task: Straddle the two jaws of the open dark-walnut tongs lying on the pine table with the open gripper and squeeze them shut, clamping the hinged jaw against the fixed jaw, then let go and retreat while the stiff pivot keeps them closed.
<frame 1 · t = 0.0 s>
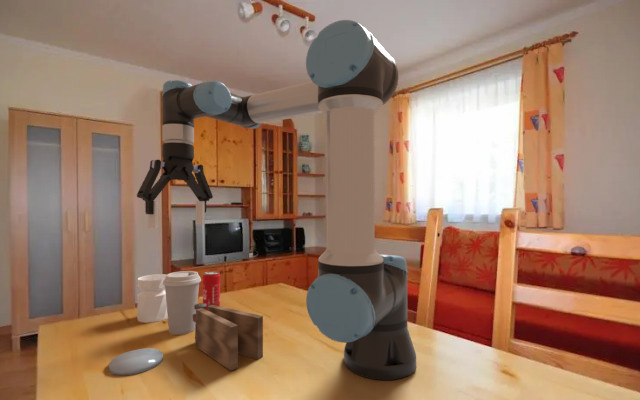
hand: (178, 226, 86), 28 cm above the table, fingers open, 13 cm apart
vase: (153, 318, 100), on the table
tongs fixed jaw: (200, 342, 82), on the table
grey domed disc: (136, 363, 71), on the table
beverage can: (211, 311, 106), on the table
coffee cup: (182, 330, 90), on the table
tongs hinged jaw: (212, 334, 75), point 5 cm above the table, hinge at 14.0°
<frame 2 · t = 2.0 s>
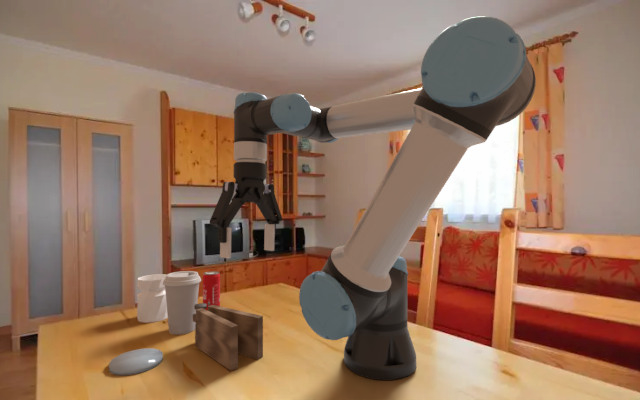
hand: (248, 253, 78), 22 cm above the table, fingers open, 13 cm apart
nothing on the table moved.
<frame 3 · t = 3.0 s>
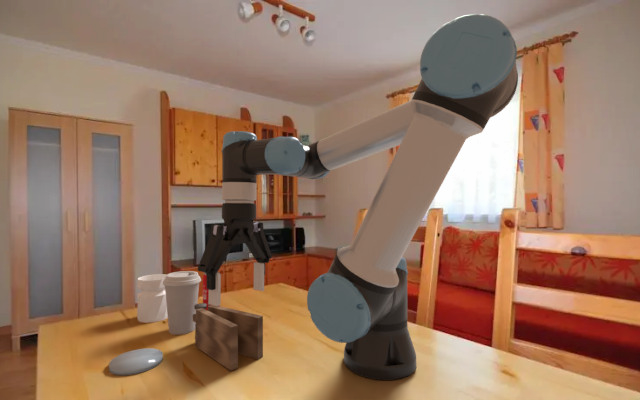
hand: (238, 296, 75), 13 cm above the table, fingers open, 13 cm apart
nothing on the table moved.
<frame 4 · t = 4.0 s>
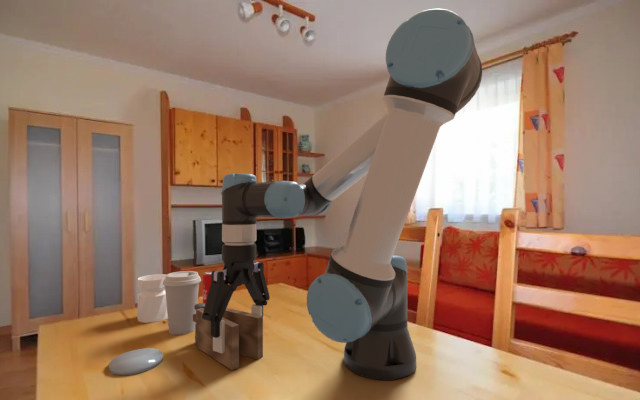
hand: (239, 341, 75), 3 cm above the table, fingers open, 11 cm apart
tongs hinged jaw: (213, 334, 75), point 5 cm above the table, hinge at 13.2°, touching gripper
everything else where it was.
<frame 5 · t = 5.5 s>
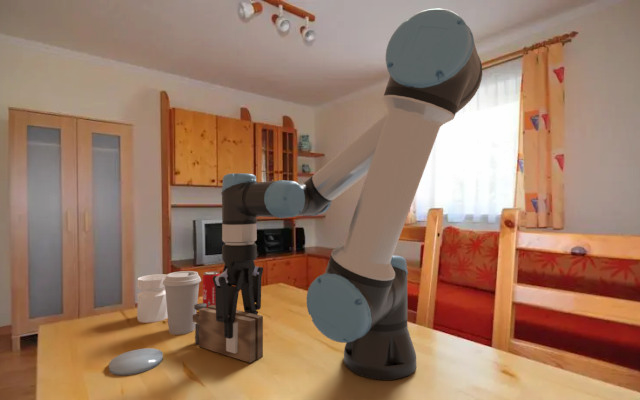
hand: (239, 347, 75), 2 cm above the table, fingers open, 4 cm apart
tongs hinged jaw: (221, 332, 76), point 5 cm above the table, hinge at -0.6°, touching gripper
everything else where it was.
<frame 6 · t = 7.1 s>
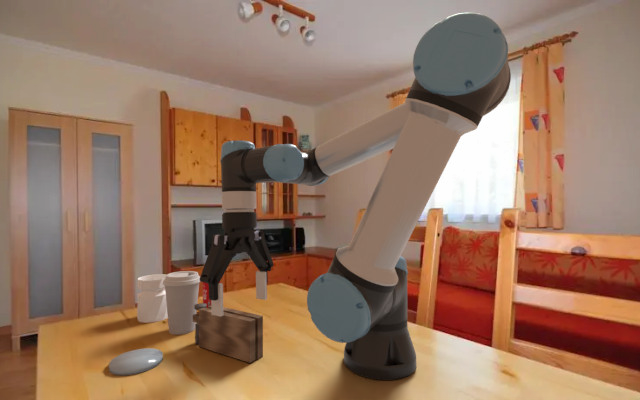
hand: (241, 306, 75), 11 cm above the table, fingers open, 13 cm apart
tongs hinged jaw: (221, 332, 76), point 5 cm above the table, hinge at -0.5°
everything else where it was.
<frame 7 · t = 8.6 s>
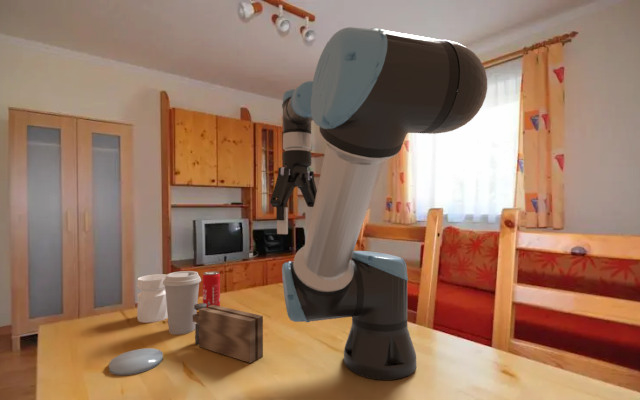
hand: (297, 232, 88), 26 cm above the table, fingers open, 13 cm apart
nothing on the table moved.
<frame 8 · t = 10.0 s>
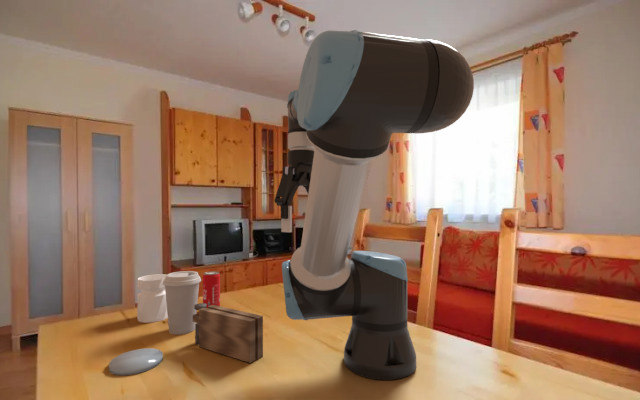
hand: (302, 230, 89), 27 cm above the table, fingers open, 13 cm apart
nothing on the table moved.
at the end: tongs hinged jaw at +0° (first picture: +14°) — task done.
